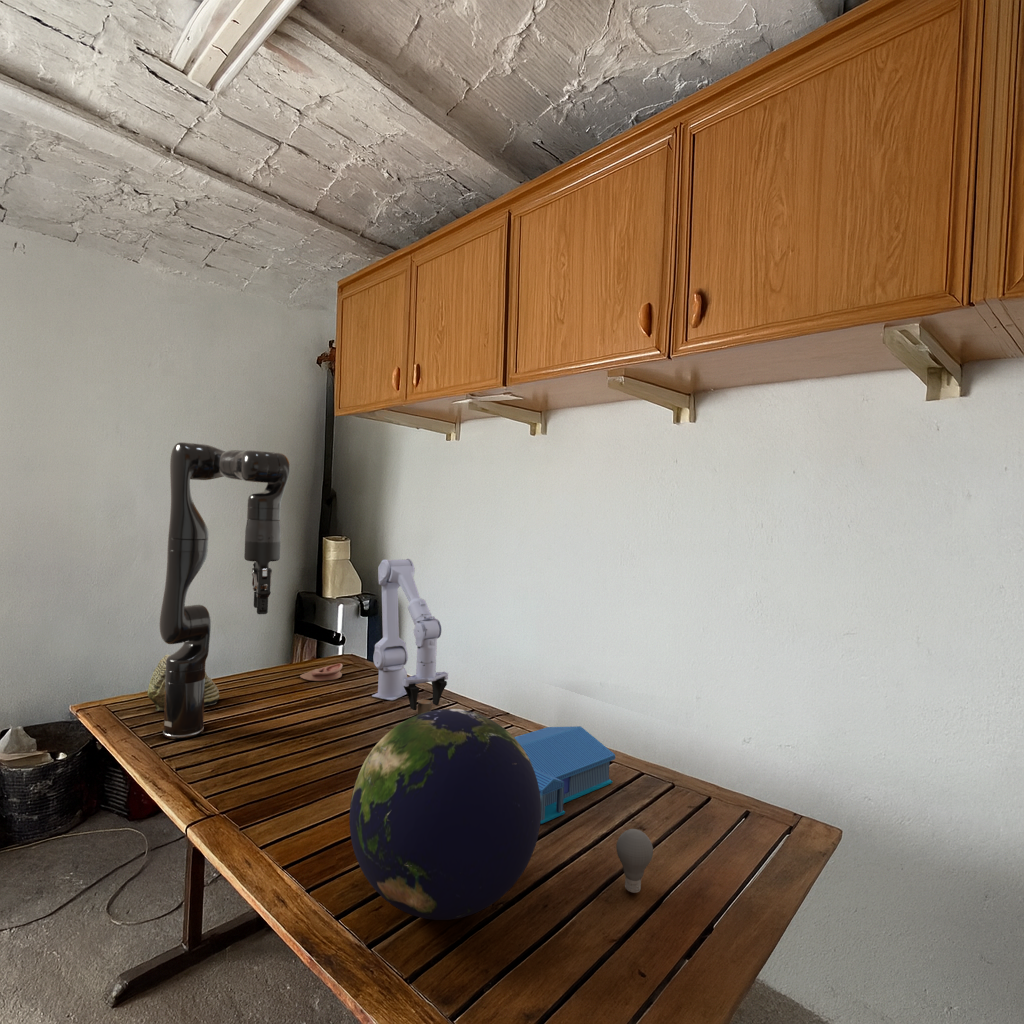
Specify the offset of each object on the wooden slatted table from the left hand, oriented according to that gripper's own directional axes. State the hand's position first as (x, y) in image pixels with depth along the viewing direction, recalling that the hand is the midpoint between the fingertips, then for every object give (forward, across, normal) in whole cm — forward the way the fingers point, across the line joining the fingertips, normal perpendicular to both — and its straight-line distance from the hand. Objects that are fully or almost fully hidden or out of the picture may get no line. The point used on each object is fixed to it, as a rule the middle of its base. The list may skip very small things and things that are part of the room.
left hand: (260, 610), depth 144 cm
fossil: (+37, +53, +15) cm, 66 cm away
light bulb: (+37, -70, -53) cm, 96 cm away
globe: (+37, -61, -23) cm, 75 cm away
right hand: (+34, +23, -48) cm, 63 cm away
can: (+37, +23, -48) cm, 65 cm away
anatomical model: (+37, +71, -27) cm, 84 cm away
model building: (+37, -32, -53) cm, 72 cm away
